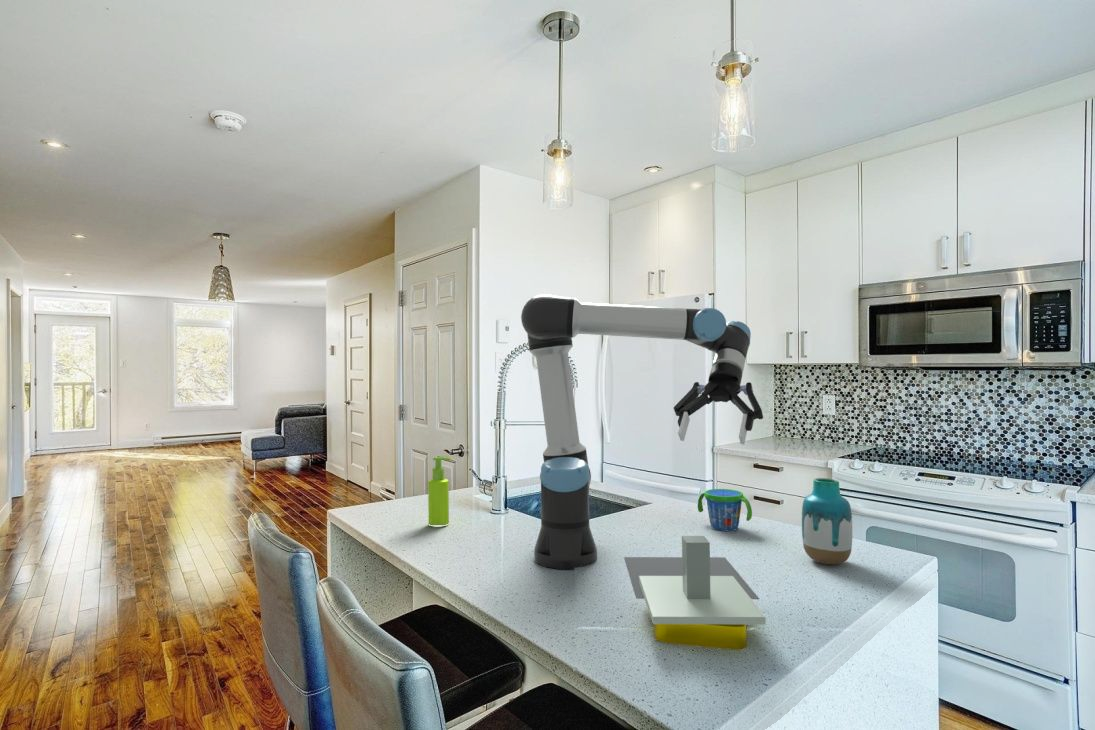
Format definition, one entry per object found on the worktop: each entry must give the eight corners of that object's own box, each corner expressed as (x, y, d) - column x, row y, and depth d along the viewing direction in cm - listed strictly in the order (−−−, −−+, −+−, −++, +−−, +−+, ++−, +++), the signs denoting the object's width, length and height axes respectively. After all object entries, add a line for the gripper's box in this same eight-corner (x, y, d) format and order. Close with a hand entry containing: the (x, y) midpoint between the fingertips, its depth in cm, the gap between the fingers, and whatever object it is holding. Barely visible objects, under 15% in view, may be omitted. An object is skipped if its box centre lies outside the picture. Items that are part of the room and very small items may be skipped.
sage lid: (652, 624, 91) (651, 555, 91) (639, 582, 109) (638, 525, 109) (765, 624, 90) (764, 555, 90) (732, 582, 108) (732, 524, 108)
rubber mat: (636, 600, 110) (636, 598, 110) (623, 558, 134) (623, 557, 134) (759, 600, 109) (759, 598, 109) (725, 559, 133) (725, 557, 133)
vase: (851, 558, 133) (850, 477, 133) (854, 573, 123) (853, 486, 124) (802, 552, 138) (801, 474, 138) (801, 566, 128) (800, 482, 128)
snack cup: (690, 525, 162) (689, 490, 162) (711, 519, 168) (711, 485, 169) (738, 538, 150) (738, 500, 150) (759, 530, 156) (759, 494, 156)
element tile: (738, 614, 105) (738, 588, 105) (748, 654, 90) (747, 624, 90) (657, 607, 108) (657, 582, 108) (653, 644, 94) (653, 615, 94)
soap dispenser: (450, 527, 162) (449, 458, 162) (426, 527, 162) (426, 458, 162) (454, 522, 168) (453, 455, 168) (431, 522, 168) (430, 455, 168)
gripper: (782, 382, 134) (771, 452, 121) (681, 381, 147) (661, 445, 135) (778, 359, 130) (766, 430, 117) (674, 361, 143) (653, 425, 130)
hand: (710, 438), depth 126 cm, fingers open, 13 cm apart
